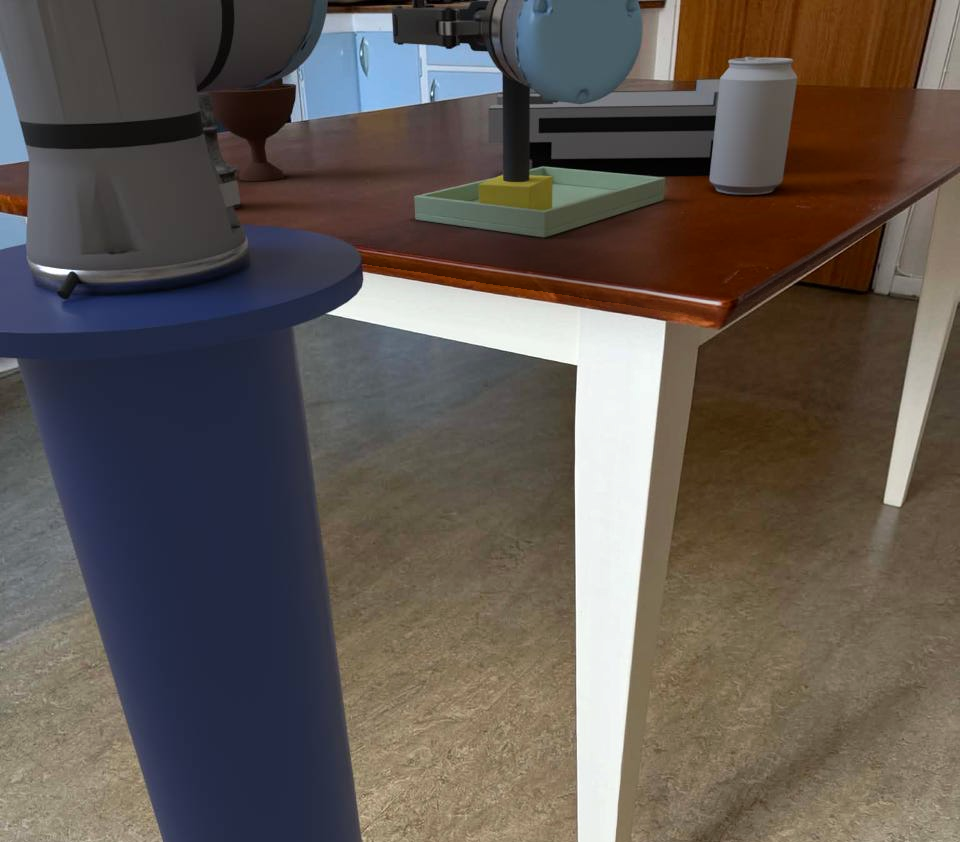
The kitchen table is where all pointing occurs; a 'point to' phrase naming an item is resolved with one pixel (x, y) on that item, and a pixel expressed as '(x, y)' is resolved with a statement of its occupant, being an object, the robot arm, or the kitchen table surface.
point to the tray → (572, 206)
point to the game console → (623, 131)
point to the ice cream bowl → (255, 120)
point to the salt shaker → (214, 140)
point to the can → (752, 125)
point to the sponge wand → (517, 157)
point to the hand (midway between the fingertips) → (497, 20)
